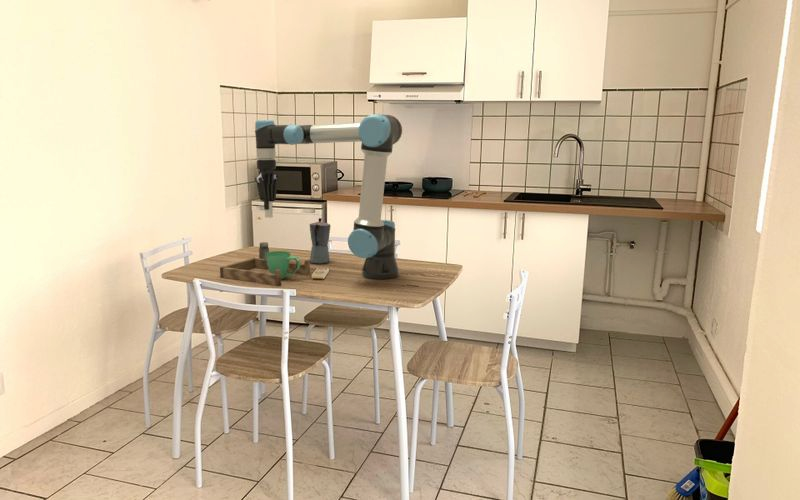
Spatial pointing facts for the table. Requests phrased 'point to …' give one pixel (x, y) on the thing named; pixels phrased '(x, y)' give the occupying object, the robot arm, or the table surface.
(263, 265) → the bay
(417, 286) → the table surface
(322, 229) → the moka pot
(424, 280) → the table surface
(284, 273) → the mug
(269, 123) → the robot arm
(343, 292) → the table surface
